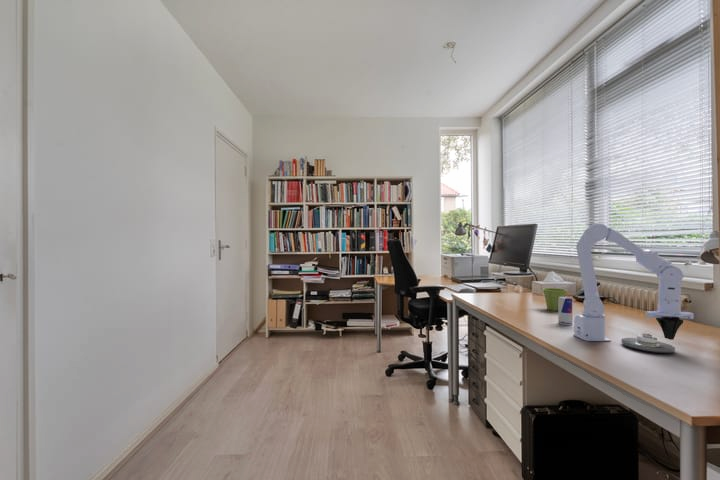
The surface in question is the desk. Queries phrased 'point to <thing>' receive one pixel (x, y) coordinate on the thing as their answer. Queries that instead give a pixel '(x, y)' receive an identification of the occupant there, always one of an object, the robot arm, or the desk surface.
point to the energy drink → (565, 310)
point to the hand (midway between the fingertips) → (669, 338)
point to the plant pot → (553, 297)
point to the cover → (647, 339)
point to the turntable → (659, 348)
